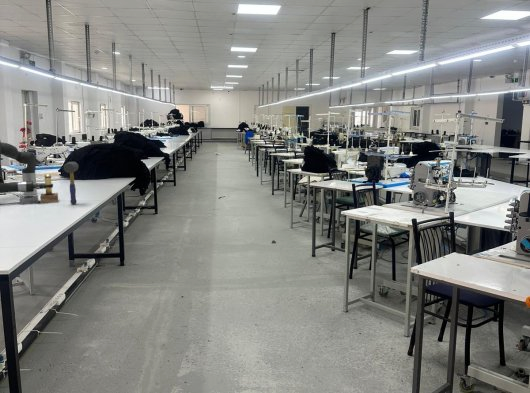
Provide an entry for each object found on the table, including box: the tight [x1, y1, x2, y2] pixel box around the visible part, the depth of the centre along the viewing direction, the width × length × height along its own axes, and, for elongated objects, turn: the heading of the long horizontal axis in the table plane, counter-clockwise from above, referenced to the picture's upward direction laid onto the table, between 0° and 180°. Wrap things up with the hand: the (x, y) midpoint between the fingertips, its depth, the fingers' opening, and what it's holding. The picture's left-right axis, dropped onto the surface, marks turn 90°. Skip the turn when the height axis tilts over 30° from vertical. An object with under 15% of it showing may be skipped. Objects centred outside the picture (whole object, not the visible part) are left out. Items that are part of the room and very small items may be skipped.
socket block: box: [18, 194, 40, 205], centre depth 306 cm, size 12×11×4 cm
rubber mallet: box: [63, 161, 79, 206], centre depth 300 cm, size 12×8×30 cm, turn 9°
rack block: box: [40, 192, 59, 204], centre depth 311 cm, size 12×11×5 cm
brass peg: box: [44, 173, 53, 195], centre depth 310 cm, size 4×4×18 cm
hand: (52, 185), depth 311 cm, fingers closed on brass peg, 4 cm apart
